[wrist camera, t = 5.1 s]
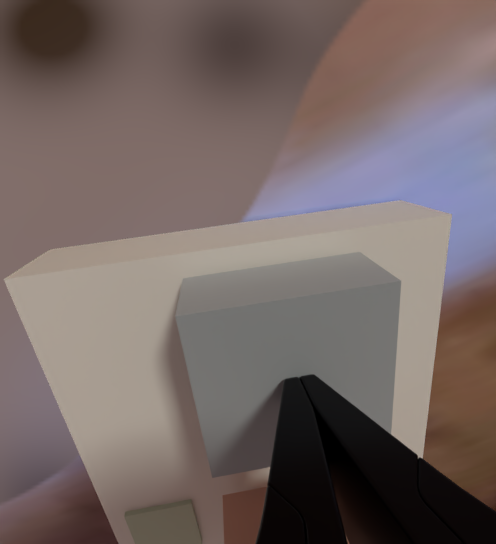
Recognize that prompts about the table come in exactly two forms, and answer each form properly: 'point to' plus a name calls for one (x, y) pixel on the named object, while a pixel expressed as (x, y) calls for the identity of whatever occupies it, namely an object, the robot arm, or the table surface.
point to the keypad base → (170, 357)
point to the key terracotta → (243, 516)
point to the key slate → (285, 347)
